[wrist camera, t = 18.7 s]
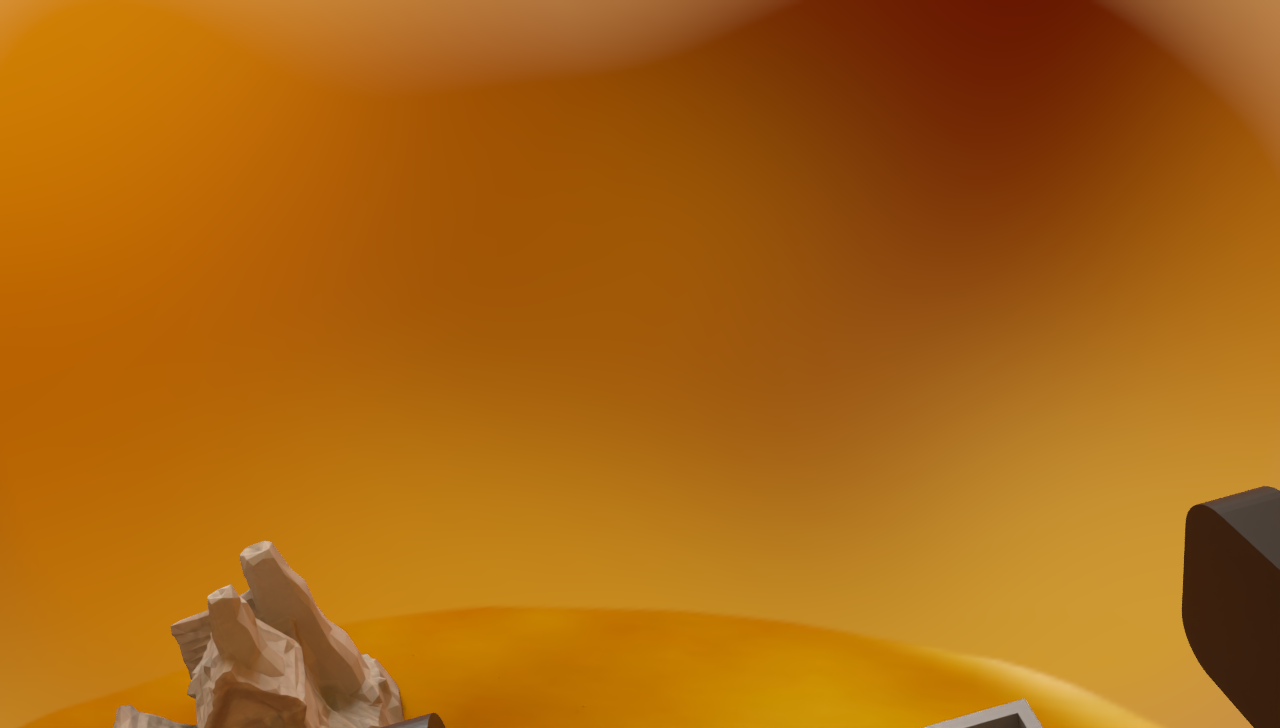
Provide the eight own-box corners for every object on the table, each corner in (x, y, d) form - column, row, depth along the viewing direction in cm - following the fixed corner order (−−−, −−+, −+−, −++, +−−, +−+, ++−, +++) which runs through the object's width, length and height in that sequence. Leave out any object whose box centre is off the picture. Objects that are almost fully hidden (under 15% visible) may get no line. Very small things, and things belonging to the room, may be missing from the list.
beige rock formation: (417, 646, 58) (296, 438, 51) (414, 916, 44) (244, 682, 36) (156, 742, 58) (-5, 547, 50) (68, 1044, 44) (-174, 835, 36)
